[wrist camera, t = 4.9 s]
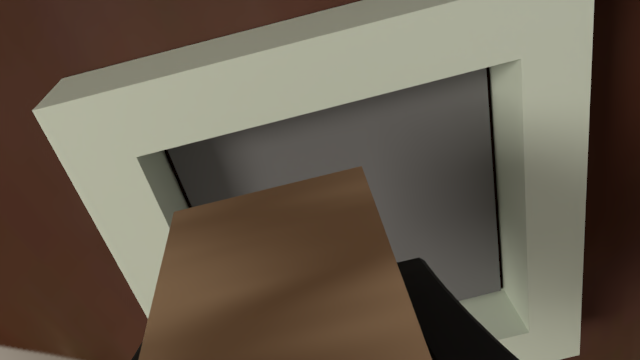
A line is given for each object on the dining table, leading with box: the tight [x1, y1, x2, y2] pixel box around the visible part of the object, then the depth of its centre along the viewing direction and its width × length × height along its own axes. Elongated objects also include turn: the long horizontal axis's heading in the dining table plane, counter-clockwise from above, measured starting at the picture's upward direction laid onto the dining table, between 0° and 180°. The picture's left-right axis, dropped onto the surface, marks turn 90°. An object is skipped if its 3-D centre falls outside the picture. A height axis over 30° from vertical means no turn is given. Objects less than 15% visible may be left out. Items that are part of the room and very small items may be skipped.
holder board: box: [32, 0, 594, 360], centre depth 19 cm, size 15×15×2 cm
